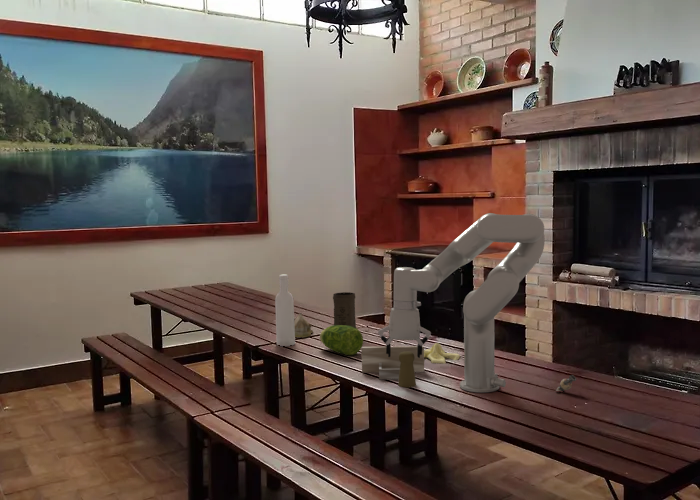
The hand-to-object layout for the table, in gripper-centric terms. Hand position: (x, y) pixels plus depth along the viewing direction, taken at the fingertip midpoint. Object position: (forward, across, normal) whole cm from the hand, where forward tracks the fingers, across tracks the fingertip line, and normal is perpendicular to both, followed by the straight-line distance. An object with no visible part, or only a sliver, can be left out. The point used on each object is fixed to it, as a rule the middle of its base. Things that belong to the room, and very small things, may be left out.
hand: (403, 356), depth 213 cm
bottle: (+12, +48, -60) cm, 78 cm away
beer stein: (+11, +24, -75) cm, 80 cm away
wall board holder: (+10, +3, -11) cm, 15 cm away
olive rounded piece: (+10, -1, 0) cm, 10 cm away
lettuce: (+11, +24, -45) cm, 52 cm away
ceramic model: (+12, +44, -79) cm, 92 cm away
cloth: (+10, -13, -35) cm, 39 cm away
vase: (+8, -51, +10) cm, 52 cm away
